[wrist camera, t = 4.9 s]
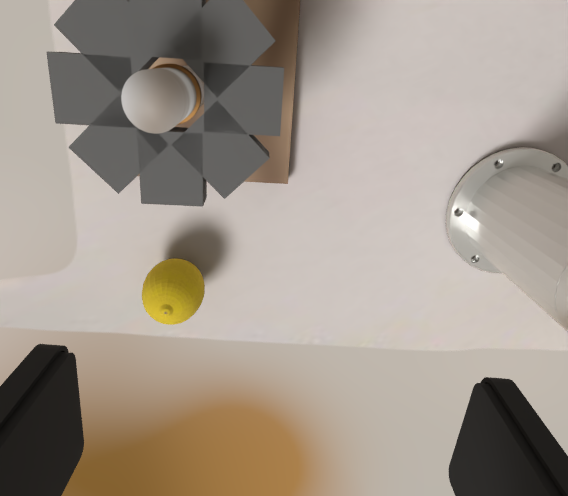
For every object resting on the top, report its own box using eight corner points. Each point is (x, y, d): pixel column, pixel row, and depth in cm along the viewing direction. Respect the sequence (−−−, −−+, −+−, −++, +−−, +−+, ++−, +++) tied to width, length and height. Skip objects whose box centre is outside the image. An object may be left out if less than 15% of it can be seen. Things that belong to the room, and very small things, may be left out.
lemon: (150, 290, 46) (128, 334, 39) (157, 241, 44) (135, 277, 37) (204, 300, 47) (193, 345, 39) (213, 252, 45) (203, 290, 37)
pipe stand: (300, -17, 36) (331, -80, 19) (286, 179, 42) (302, 258, 26) (95, -33, 35) (-56, -115, 18) (112, 170, 41) (10, 246, 25)
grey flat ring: (287, -21, 25) (289, -27, 24) (274, 200, 30) (275, 209, 29) (50, -40, 25) (33, -48, 23) (77, 191, 30) (65, 199, 28)
